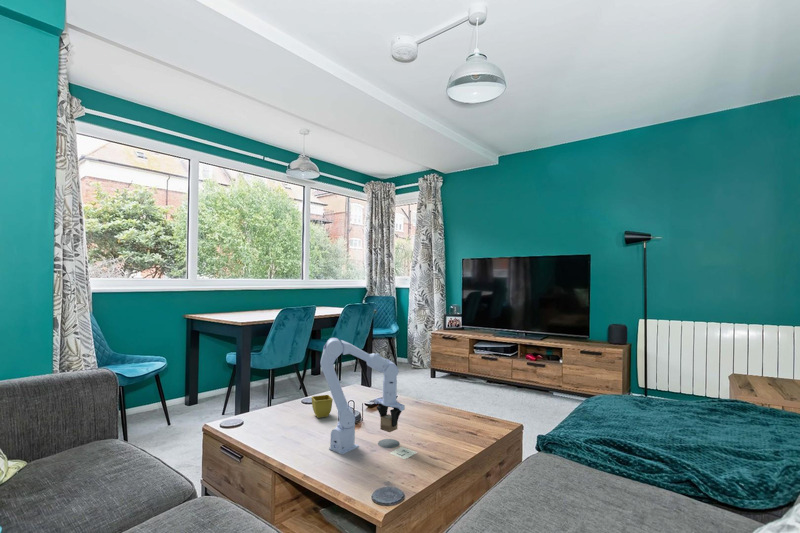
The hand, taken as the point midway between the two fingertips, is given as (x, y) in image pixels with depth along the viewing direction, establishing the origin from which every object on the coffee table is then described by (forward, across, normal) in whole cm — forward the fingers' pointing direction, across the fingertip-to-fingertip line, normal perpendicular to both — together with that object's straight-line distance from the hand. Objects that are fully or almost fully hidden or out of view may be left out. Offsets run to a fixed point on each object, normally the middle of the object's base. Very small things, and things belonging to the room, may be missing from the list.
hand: (389, 424), depth 165 cm
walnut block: (+2, 0, 0) cm, 2 cm away
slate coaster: (+8, 0, 0) cm, 8 cm away
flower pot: (+8, +47, -4) cm, 48 cm away
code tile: (+8, -10, +3) cm, 13 cm away
